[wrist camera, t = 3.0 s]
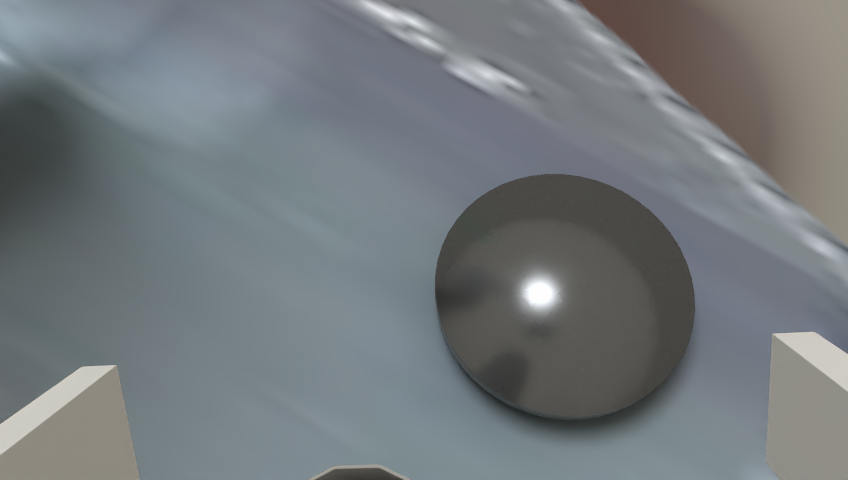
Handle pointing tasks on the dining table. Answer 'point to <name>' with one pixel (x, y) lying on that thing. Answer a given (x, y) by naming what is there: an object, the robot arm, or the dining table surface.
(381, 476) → the cup
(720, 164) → the dining table surface
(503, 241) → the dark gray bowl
